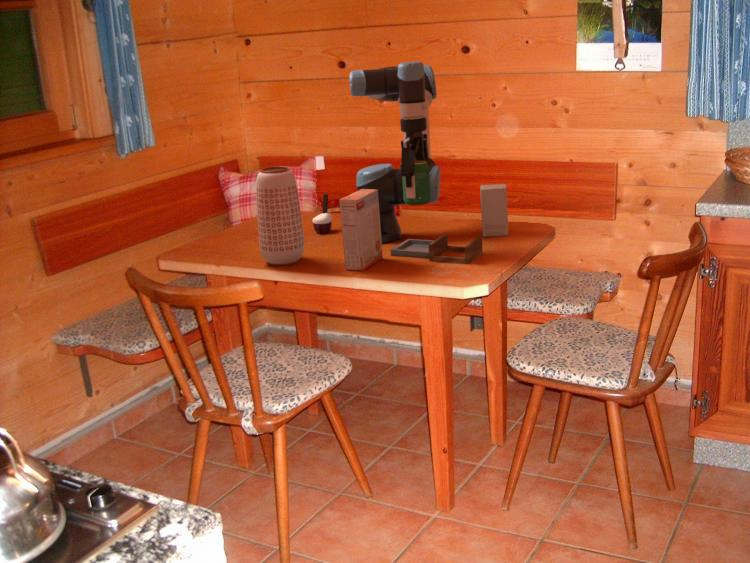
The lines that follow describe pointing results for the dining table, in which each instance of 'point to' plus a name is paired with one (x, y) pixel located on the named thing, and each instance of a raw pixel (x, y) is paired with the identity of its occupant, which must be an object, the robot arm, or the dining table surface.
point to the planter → (279, 216)
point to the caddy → (454, 250)
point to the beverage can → (419, 185)
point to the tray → (412, 248)
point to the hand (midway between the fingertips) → (416, 194)
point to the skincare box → (494, 210)
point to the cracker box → (361, 229)
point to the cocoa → (323, 218)
